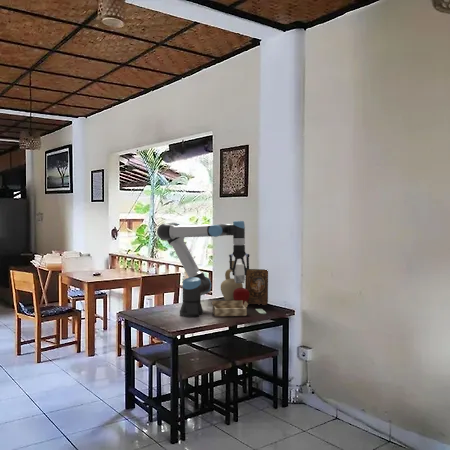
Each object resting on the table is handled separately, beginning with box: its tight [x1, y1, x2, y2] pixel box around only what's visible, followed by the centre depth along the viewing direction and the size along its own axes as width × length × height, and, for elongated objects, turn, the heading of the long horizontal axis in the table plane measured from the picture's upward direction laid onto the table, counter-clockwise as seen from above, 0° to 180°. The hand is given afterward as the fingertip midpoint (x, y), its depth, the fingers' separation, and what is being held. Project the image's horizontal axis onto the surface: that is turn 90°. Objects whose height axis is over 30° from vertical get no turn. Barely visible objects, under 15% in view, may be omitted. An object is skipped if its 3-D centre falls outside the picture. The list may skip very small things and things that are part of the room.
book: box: [244, 268, 269, 306], centre depth 352 cm, size 16×6×25 cm, turn 84°
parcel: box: [235, 262, 245, 284], centre depth 316 cm, size 5×7×12 cm
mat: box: [255, 308, 267, 315], centre depth 325 cm, size 12×12×1 cm
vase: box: [220, 260, 244, 301], centre depth 362 cm, size 17×17×30 cm
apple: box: [233, 287, 250, 305], centre depth 346 cm, size 12×12×13 cm
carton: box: [210, 300, 249, 317], centre depth 314 cm, size 23×13×8 cm, turn 99°
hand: (239, 280), depth 316 cm, fingers closed on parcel, 5 cm apart
